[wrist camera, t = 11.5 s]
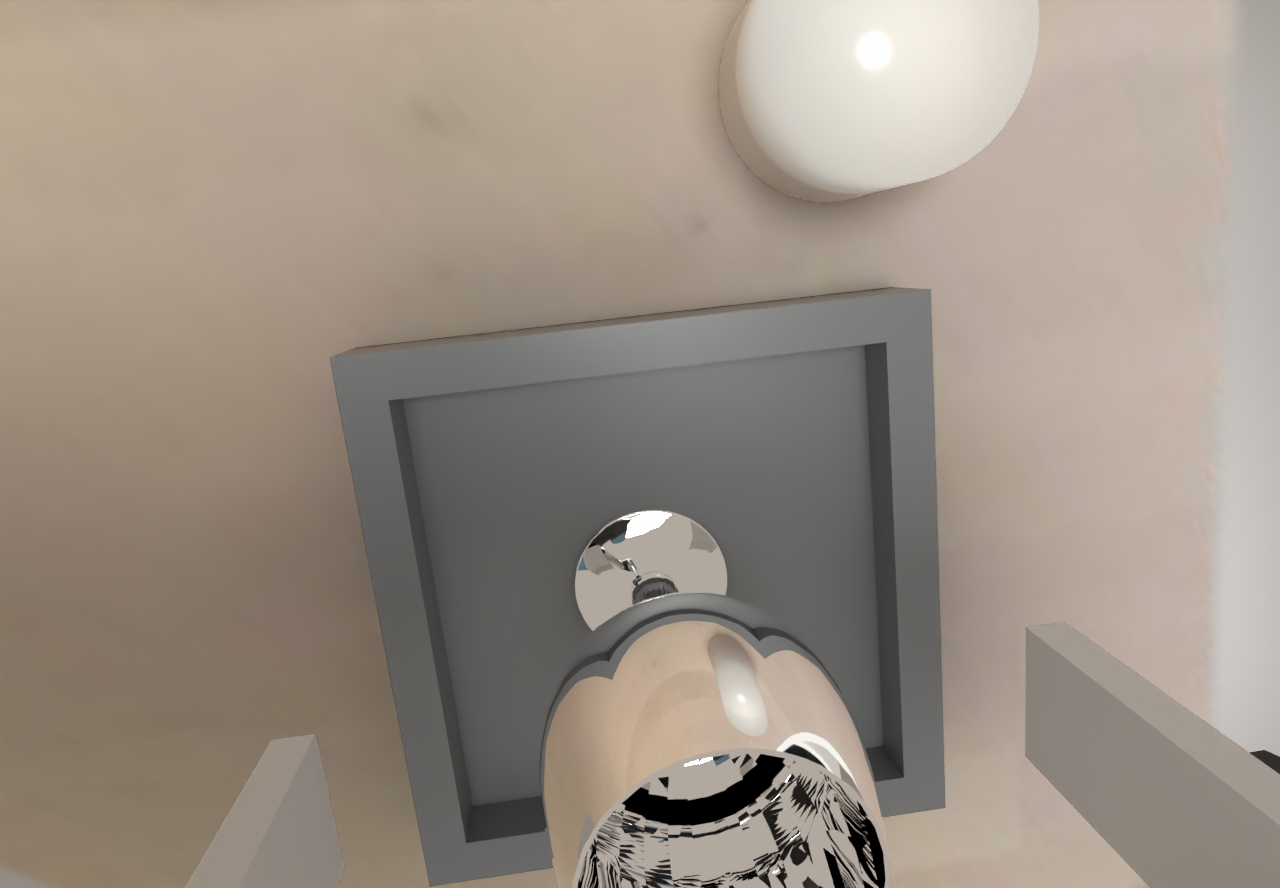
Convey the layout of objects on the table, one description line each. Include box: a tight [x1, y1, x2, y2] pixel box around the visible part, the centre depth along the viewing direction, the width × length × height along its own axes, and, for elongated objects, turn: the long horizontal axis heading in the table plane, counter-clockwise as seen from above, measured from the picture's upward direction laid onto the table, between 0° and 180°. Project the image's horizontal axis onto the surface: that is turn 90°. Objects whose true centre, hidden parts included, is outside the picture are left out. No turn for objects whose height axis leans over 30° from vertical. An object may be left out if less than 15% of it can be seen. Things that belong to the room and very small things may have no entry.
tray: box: [330, 287, 945, 886], centre depth 23 cm, size 15×15×3 cm
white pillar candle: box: [718, 0, 1039, 202], centre depth 20 cm, size 6×6×5 cm
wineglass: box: [539, 508, 891, 888], centre depth 17 cm, size 6×6×12 cm
